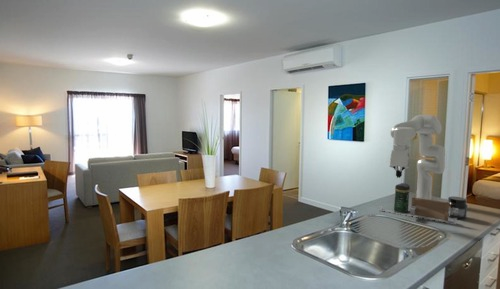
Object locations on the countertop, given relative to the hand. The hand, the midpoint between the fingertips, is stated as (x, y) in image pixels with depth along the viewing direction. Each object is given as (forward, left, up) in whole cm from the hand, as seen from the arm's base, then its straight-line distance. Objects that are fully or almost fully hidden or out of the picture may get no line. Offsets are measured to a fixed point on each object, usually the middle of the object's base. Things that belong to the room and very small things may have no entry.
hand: (398, 177), depth 191 cm
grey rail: (-7, +9, -25) cm, 28 cm away
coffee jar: (-14, 0, -25) cm, 29 cm away
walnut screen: (-3, +17, -24) cm, 29 cm away
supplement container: (-22, +30, -25) cm, 45 cm away
